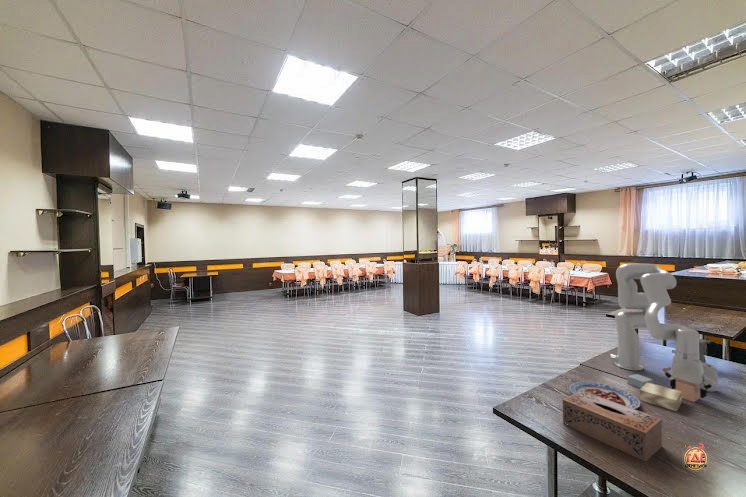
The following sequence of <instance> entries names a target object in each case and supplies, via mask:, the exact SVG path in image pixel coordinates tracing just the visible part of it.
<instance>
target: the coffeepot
mask: <svg viewBox="0 0 746 497" xmlns="http://www.w3.org/2000/svg"><path fill="white" fill-rule="evenodd" d="M707 345H709V346H713V347H712V350H711V353H707V356H709V357H714V356H715V353H716V352H717V350H718V349H719V344H718V343H717V342H715V341H711V340H705V339H702V338H699V360H700V361H701V362H703V363H707V360H706V357H705V354H704V353H706V349H707Z"/></svg>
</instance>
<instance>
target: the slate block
mask: <svg viewBox="0 0 746 497" xmlns="http://www.w3.org/2000/svg"><path fill="white" fill-rule="evenodd" d="M646 382H648V383H651V384H654V380H653V379H652V378H650V377H647V376H644V375H642V374H638V373H634V374H630V375H627V384H628V385H630V384H631V386H633V387H636V388H637V389H638V388H639V389H641V388H642V387H643V386H644V384H645V383H646Z"/></svg>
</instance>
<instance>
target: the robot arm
mask: <svg viewBox="0 0 746 497" xmlns="http://www.w3.org/2000/svg"><path fill="white" fill-rule="evenodd" d="M615 277H616V281H617V295H618V296H617V302H618V306H619V307H620V308H621V309H622V310H623V309H624V310H627V311H620V312H618V313H616V314H615V316H614V322H615V325H616V332H617V333H616V334H617V355H615V354H610V356H609V357H610V359H611V360H615V361H614V365H615V366H616V367H618V368H621V369H624V370H629V371H635V372H637V371H643V370H644V366H643V365H642V364H640V336H639V335H638V332H636V330H635V329H647V330H648V331H649V335H650V336H651V337H653V338H654V339H656V340H659V341H675V349H671V353H672V354H674V355H673V356H672V360H671V364H670V365H671V366H669V367H668V366H667V367H664V368H662V371H663V373H664V375H665V376H666V378H668V380H669V386H670V387H671V388H670V389H674V390H676V381H677V380H683V381H686V382H690V383H694V384H698V385H699V386H700V387H701V389H699V398H701V399H704V398H706V397H707V395H708V391H707V389H708V388H711V387H712V386H713V385H714V384H715V383H716V382H715V381H713V380H712V379H710V378H709V377H707V376H705V375H704V370H703V365H702V362H701V361H700V360H699V339H700V333H699V332H698V330H696V329H694V328H690V327H689V328H688V327H686V326H684V325H682V324H680V323H679V324H678V323H660V320H659V318H658V314H659V311H660V310H661V309H662V308H664V307H667V306H669V305H671V304H672V300H671V298H670V295H669V293H668V290H672V289H674V288H675V287H676V286H677V279H676V277H675V276H674V275H673V274H672V273H671V272H669V271H667V270H665V269H664V268H662V267H661V266H658V265H657V264H653V263H626V264H622V265H619V266H618V267H617V269H616V272H615ZM635 280H639V281H640V284H641V287H642V289H643V292H638V284H637V282H636V281H635ZM629 310H631V311H629ZM632 310H633V311H632ZM634 310H637V311H634ZM669 371H670V372H669ZM704 380H706V381H708V382H709V384H708V385H706V384H705V383H704Z"/></svg>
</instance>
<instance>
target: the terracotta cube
mask: <svg viewBox="0 0 746 497" xmlns="http://www.w3.org/2000/svg"><path fill="white" fill-rule="evenodd" d="M675 390H678V391H681V392H682V400H687V401H689V402H693V403H695V402H696V401H698V400H699V399H700V389H699V385H698V384H694V383H690V382H686V381H683V380H679V379H676V388H675Z"/></svg>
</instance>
